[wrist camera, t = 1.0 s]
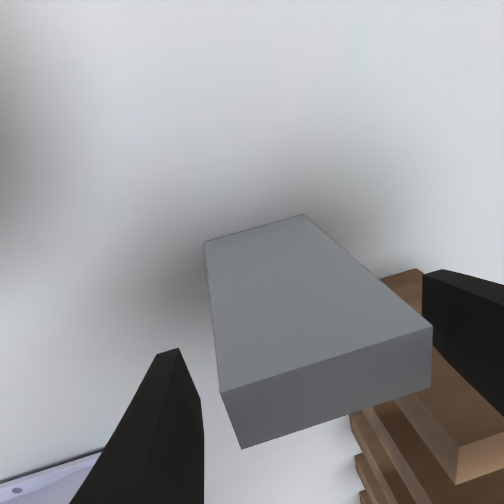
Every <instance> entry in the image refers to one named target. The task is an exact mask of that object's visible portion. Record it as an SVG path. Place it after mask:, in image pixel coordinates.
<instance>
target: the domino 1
mask: <svg viewBox="0 0 504 504" xmlns="http://www.w3.org/2000/svg"><path fill="white" fill-rule="evenodd" d="M204 249H205V259H206V268H207V277H208V287H209V296H210V305H211V314H212V324H213V333H214V342H215V351H216V361H217V370H218V379H219V389H220V394H221V397H222V400H223V402H224V405H225V407H226V410H227V413H228V415H229V418H230V421H231V423H232V426H233V429H234V431H235V434H236V437H237V439H238V442H239V445H240V447H241V450H242V449H245V448H248V447H251V446H254V445H257V444H260V443H263V442H266V441H269V440H272V439H275V438H278V437H281V436H284V435H287V434H290V433H293V432H296V431H299V430H302V429H305V428H308V427H312V426H315V425H318V424H321V423H324V422H327V421H330V420H333V419H336V418H339V417H342V416H345V415H348V414H351V413H354V412H357V411H360V410H363V409H366V408H369V407H372V406H375V405H378V404H381V403H384V402H387V401H390V400H393V399H396V398H399V397H402V396H405V395H409V394H412V393H415V392H418V391H421V390H424V389H427V388H430V387H431V365H432V338H433V325H431V324H430V323H429V322H428V321H427V320H426V319H424V318H423V317H422V316H421V315H420V314H419V313H417V312H416V311H415V310H414V309H413V308H412V307H410V306H409V305H408V304H407V303H406V302H405V301H403V300H402V299H401V298H400V297H399V296H398V295H397V294H395V293H394V292H393V291H392V290H391V289H390V288H388V287H387V286H386V285H385V284H384V283H383V282H381V281H380V280H379V279H378V278H377V277H376V276H374V275H373V274H372V273H371V272H370V271H369V270H367V269H366V268H365V267H364V266H363V265H362V264H361V263H359V262H358V261H357V260H356V259H355V258H354V257H352V256H351V255H350V254H349V253H348V252H347V251H345V250H344V249H343V248H342V247H341V246H340V245H338V244H337V243H336V242H335V241H334V240H333V239H331V238H330V237H329V236H328V235H327V234H326V233H324V232H323V231H322V230H321V229H320V228H319V227H318V226H316V225H315V224H314V223H313V222H312V221H311V220H309V219H308V218H307V217H306V216H305V215H304V214H303V215H299V216H295V217H292V218H288V219H284V220H281V221H277V222H274V223H270V224H266V225H263V226H259V227H256V228H252V229H248V230H245V231H241V232H238V233H234V234H230V235H227V236H223V237H220V238H216V239H212V240H209V241H205V242H204Z"/></svg>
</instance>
